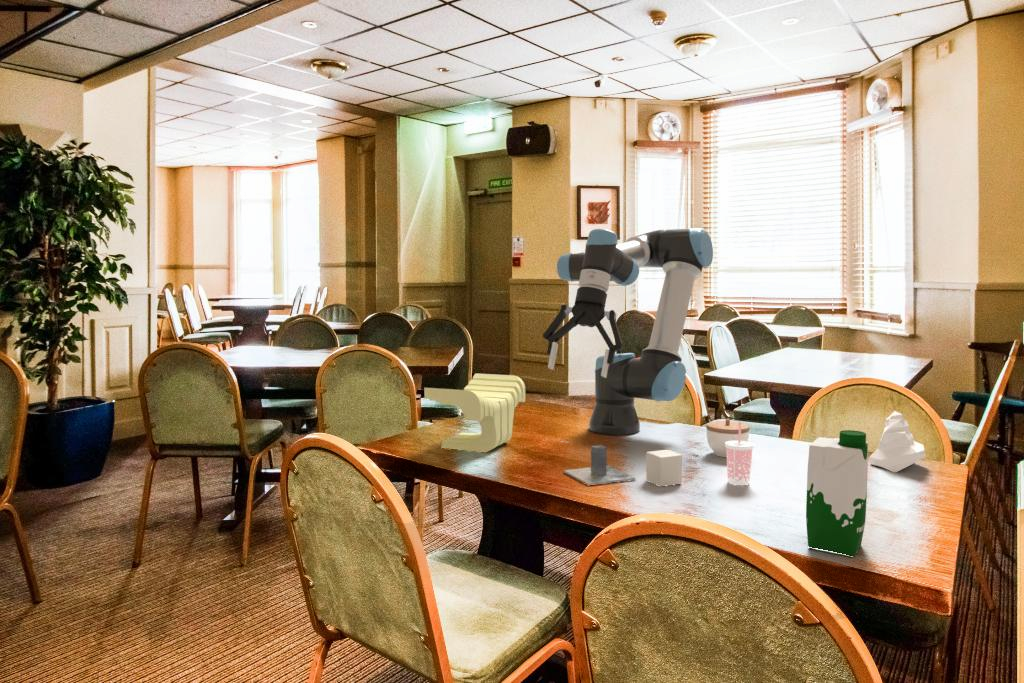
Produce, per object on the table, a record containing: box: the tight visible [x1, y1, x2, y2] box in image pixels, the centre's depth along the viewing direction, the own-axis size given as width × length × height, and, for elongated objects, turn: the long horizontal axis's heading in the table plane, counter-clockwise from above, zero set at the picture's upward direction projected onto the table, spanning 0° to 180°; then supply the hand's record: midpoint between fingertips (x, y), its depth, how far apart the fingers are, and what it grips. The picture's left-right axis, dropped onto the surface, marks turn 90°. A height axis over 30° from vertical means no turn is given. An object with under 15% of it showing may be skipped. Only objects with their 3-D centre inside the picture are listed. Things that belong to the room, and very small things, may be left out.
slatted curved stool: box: [423, 372, 526, 453], centre depth 196 cm, size 30×16×18 cm, turn 157°
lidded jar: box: [705, 418, 750, 458], centre depth 186 cm, size 11×11×9 cm
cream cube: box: [645, 449, 683, 487], centre depth 160 cm, size 6×6×7 cm
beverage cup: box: [725, 420, 755, 485], centre depth 160 cm, size 6×6×14 cm
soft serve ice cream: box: [868, 410, 927, 473], centre depth 174 cm, size 12×15×14 cm
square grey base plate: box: [563, 444, 636, 485], centre depth 165 cm, size 12×12×7 cm
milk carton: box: [805, 429, 869, 557], centre depth 121 cm, size 9×9×20 cm
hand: (576, 372), depth 176 cm, fingers open, 13 cm apart
